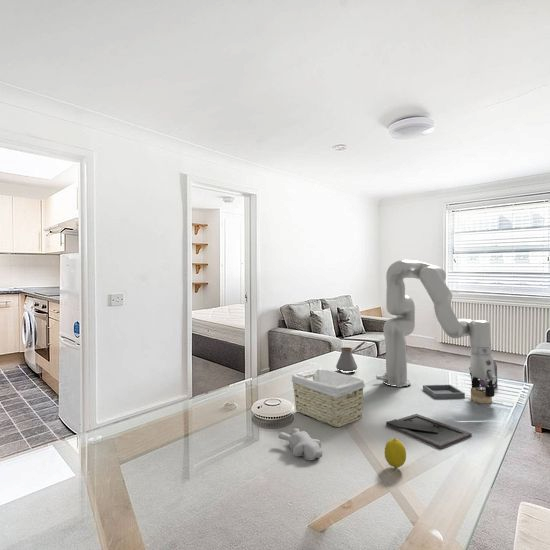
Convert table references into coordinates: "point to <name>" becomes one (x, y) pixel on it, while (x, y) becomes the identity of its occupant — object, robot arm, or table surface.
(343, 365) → the coffee pot
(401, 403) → the table surface
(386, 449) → the lemon
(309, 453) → the bunny figurine
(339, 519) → the table surface
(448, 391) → the charcoal tray
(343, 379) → the storage basket
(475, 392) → the maple ring
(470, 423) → the table surface
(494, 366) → the beverage can
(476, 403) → the grey knobbed square plate
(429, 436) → the picture frame
